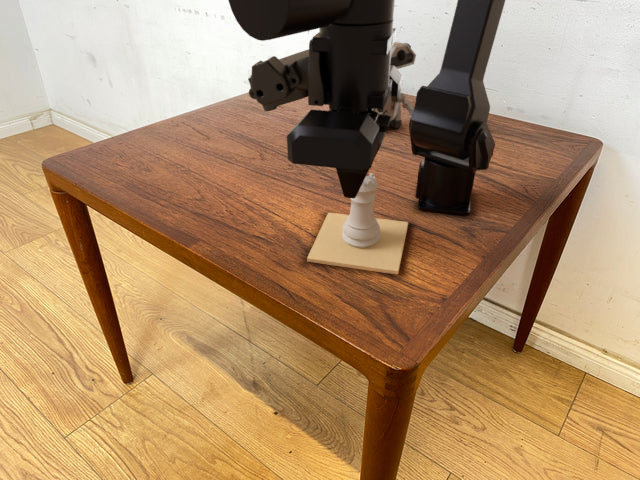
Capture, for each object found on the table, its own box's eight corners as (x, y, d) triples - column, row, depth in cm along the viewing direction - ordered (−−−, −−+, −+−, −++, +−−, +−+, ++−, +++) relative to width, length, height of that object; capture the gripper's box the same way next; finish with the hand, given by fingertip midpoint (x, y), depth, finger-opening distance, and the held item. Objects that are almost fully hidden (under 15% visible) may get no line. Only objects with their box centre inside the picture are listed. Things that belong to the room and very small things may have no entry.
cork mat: (408, 225, 59) (408, 221, 59) (398, 275, 52) (398, 271, 51) (328, 215, 62) (328, 212, 61) (307, 261, 54) (306, 258, 53)
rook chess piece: (350, 253, 54) (353, 189, 49) (335, 232, 57) (335, 171, 53) (387, 244, 55) (392, 181, 51) (369, 225, 59) (373, 164, 54)
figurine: (369, 148, 79) (374, 51, 70) (341, 124, 88) (343, 35, 79) (419, 140, 81) (429, 45, 73) (387, 117, 90) (393, 30, 82)
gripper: (292, -2, 47) (298, 149, 56) (207, 39, 32) (232, 237, 41) (409, 2, 44) (395, 159, 53) (376, 48, 30) (364, 256, 38)
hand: (350, 196), depth 46 cm, fingers closed
